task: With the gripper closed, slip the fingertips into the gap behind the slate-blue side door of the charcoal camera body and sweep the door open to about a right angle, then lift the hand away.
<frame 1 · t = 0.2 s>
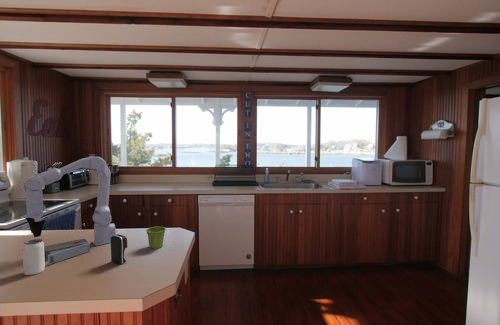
hand: (35, 234, 118), 10 cm above the counter, tool pointing down, fingers open, 7 cm apart
side door: (70, 253, 118), point 2 cm above the counter, hinge at 20.0°
plant pot: (156, 247, 133), on the counter
can: (34, 272, 105), on the counter
battery charger: (119, 262, 115), on the counter
camera body: (66, 253, 124), on the counter
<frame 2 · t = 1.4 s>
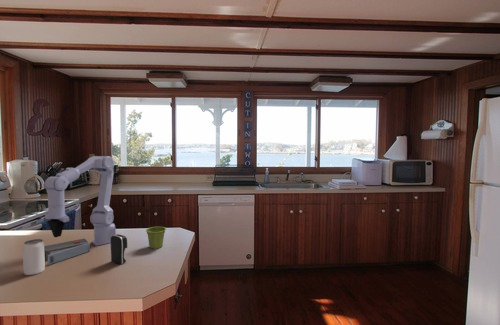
hand: (57, 236, 115), 10 cm above the counter, tool pointing down, fingers closed
nothing on the counter moved.
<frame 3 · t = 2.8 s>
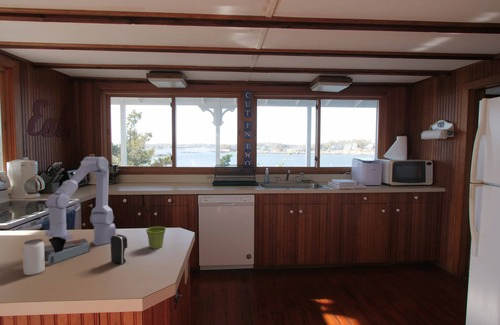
hand: (58, 254, 115), 3 cm above the counter, tool pointing down, fingers closed
side door: (70, 253, 118), point 2 cm above the counter, hinge at 21.1°, touching gripper
everything else where it was.
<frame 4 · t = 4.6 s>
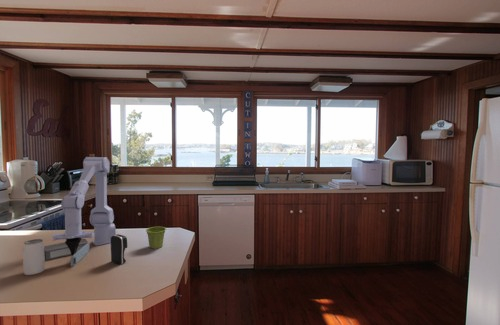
hand: (74, 255, 113), 3 cm above the counter, tool pointing down, fingers closed
side door: (81, 253, 117), point 2 cm above the counter, hinge at 58.4°, touching gripper
everything else where it was.
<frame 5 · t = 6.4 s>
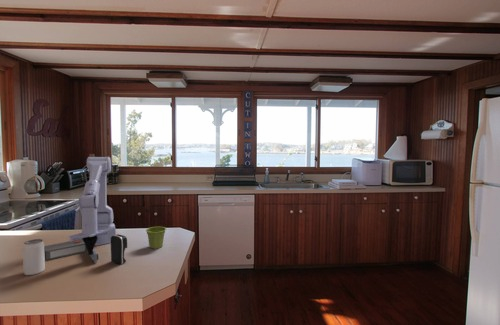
hand: (90, 254, 115), 3 cm above the counter, tool pointing down, fingers closed
side door: (92, 252, 119), point 2 cm above the counter, hinge at 87.9°, touching gripper
everything else where it was.
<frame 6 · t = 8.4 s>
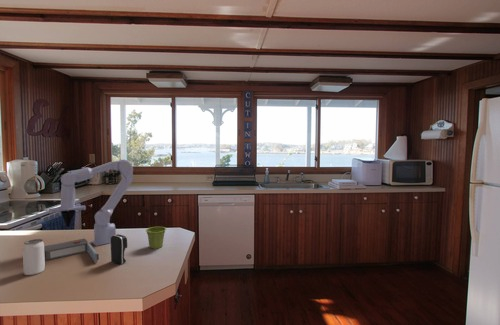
hand: (67, 226, 130), 10 cm above the counter, tool pointing down, fingers closed
side door: (92, 252, 119), point 2 cm above the counter, hinge at 88.4°
everything else where it was.
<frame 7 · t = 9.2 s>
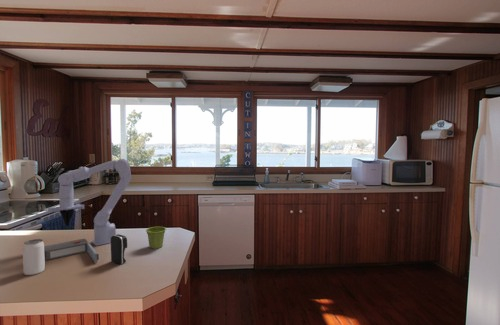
hand: (66, 225, 132), 10 cm above the counter, tool pointing down, fingers closed
nothing on the counter moved.
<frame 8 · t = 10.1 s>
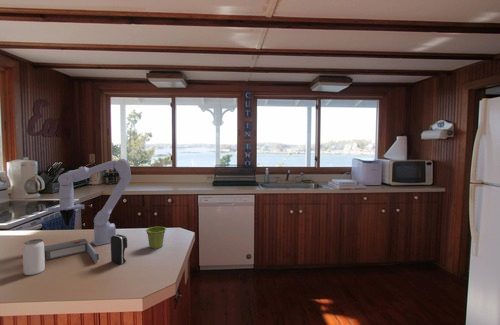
hand: (66, 225, 132), 10 cm above the counter, tool pointing down, fingers closed
nothing on the counter moved.
at the end: side door at +88° (first picture: +20°); can moved 0.2 cm from its start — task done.
